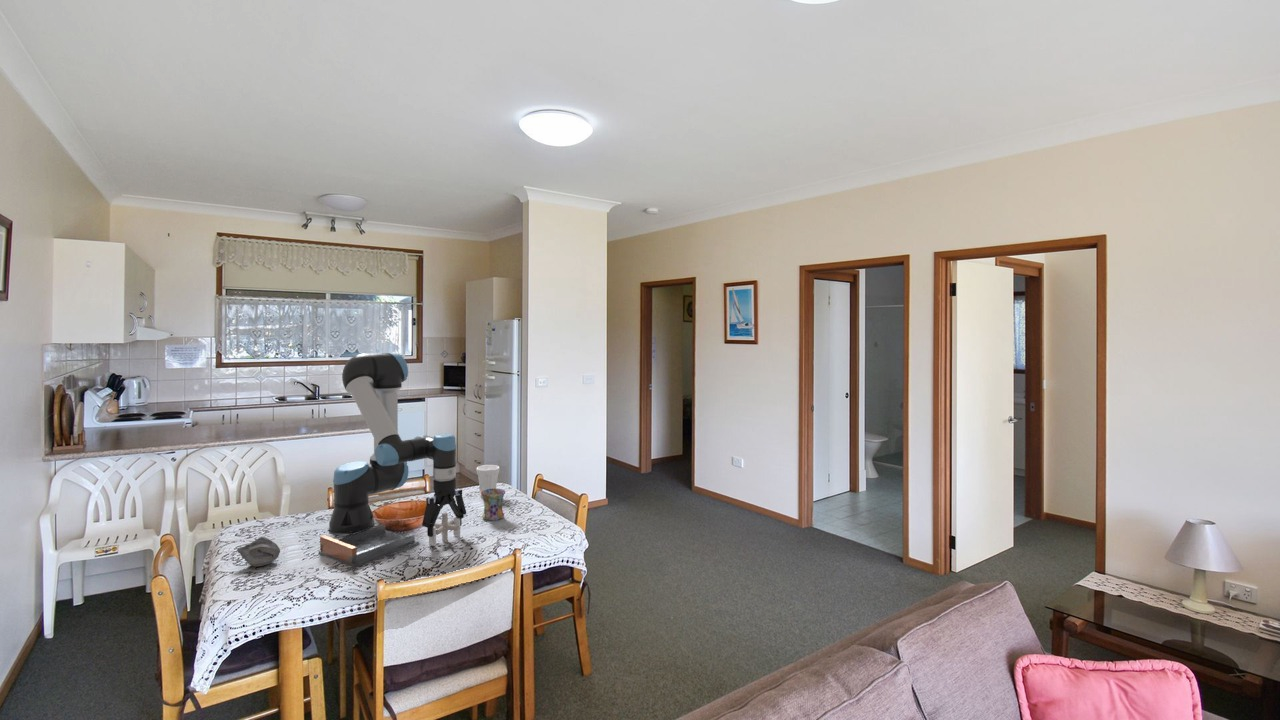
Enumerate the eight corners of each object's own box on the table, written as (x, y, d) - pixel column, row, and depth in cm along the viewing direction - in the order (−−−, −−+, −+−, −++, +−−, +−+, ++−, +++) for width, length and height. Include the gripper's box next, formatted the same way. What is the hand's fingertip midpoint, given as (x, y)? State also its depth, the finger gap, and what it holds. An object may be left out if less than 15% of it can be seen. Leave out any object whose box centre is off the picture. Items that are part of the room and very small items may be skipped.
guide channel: (383, 531, 215) (383, 515, 215) (419, 543, 205) (418, 527, 204) (318, 553, 195) (318, 535, 195) (354, 568, 185) (353, 549, 184)
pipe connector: (450, 547, 202) (450, 519, 202) (424, 544, 204) (424, 516, 204) (464, 537, 212) (464, 510, 211) (439, 534, 214) (439, 507, 213)
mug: (509, 518, 232) (509, 492, 231) (487, 523, 226) (487, 496, 225) (495, 510, 241) (495, 485, 240) (474, 515, 235) (474, 489, 235)
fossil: (239, 573, 179) (238, 548, 179) (237, 563, 186) (236, 538, 186) (281, 564, 186) (281, 540, 186) (278, 555, 193) (277, 531, 193)
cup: (472, 499, 256) (472, 469, 255) (482, 492, 266) (482, 464, 265) (494, 500, 254) (494, 471, 253) (503, 494, 264) (503, 465, 263)
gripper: (424, 487, 195) (425, 553, 197) (476, 473, 214) (476, 532, 216) (410, 484, 199) (410, 548, 201) (462, 470, 218) (462, 528, 220)
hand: (444, 540), depth 208 cm, fingers closed on pipe connector, 10 cm apart
